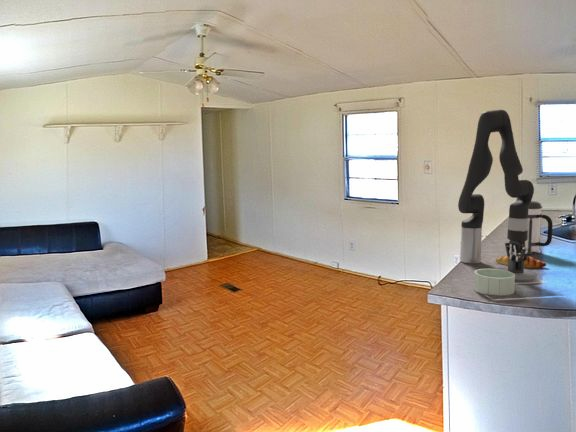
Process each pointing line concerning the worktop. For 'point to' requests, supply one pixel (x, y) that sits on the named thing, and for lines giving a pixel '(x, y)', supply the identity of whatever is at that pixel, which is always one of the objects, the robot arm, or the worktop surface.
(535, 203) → the coffee press
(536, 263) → the croissant
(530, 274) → the lid
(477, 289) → the bowl
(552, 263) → the worktop surface
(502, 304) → the worktop surface
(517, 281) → the mat
